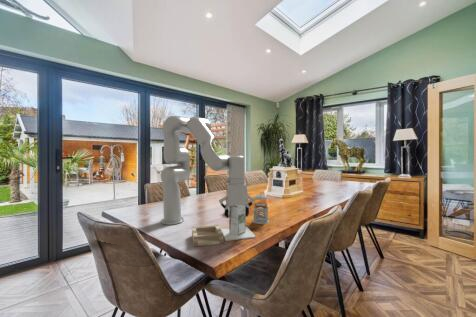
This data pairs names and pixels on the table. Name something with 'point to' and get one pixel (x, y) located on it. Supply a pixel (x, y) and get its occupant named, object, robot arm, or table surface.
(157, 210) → the table surface
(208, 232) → the holder
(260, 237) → the table surface
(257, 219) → the grey lantern
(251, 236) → the mat
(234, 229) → the syrup box
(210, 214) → the table surface
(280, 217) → the table surface
